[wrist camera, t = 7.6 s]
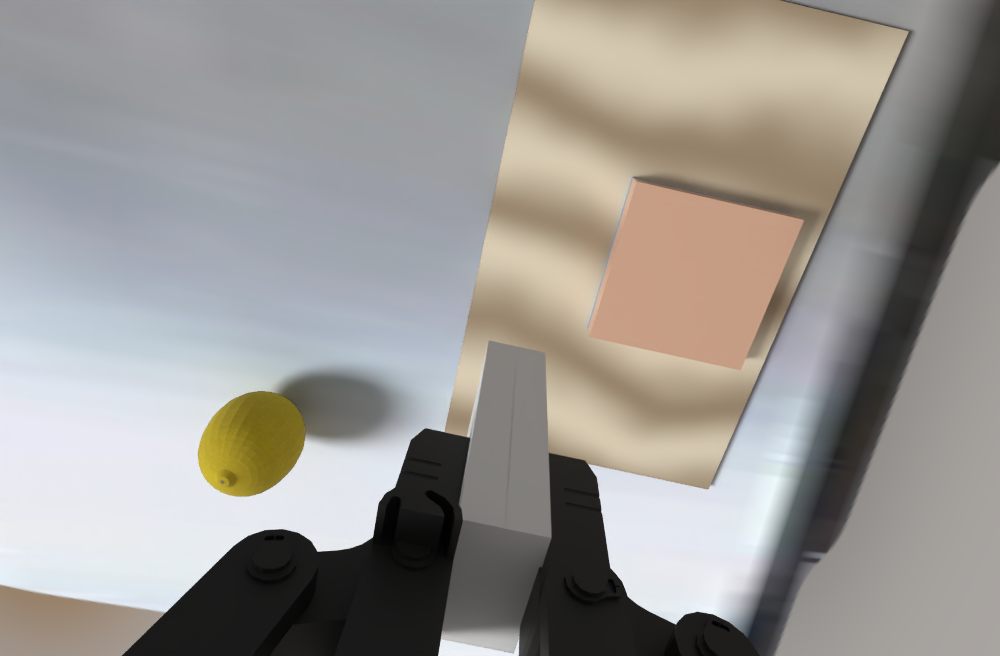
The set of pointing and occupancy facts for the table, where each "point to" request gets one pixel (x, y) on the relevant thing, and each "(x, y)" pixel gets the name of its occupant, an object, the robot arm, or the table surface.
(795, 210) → the board
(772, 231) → the tile
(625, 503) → the table surface
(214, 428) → the lemon
